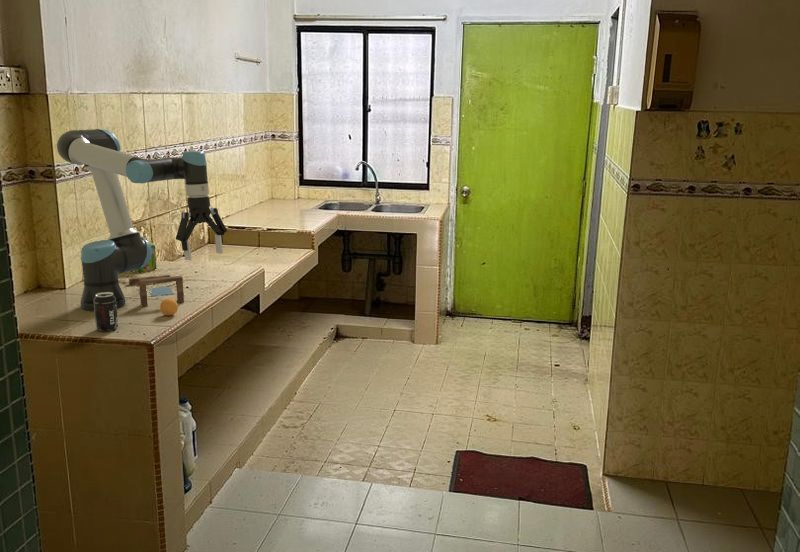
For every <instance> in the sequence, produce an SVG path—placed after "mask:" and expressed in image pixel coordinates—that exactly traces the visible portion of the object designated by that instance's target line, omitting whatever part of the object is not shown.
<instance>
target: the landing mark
mask: <svg viewBox="0 0 800 552" xmlns="http://www.w3.org/2000/svg"><path fill="white" fill-rule="evenodd" d="M151 288H152V289H150V288H149V287H148V289H150V290H152V291H151V292H152V293H150V292H149V293H150V295H151V297H158V296H157V295H161V296H169V295H168V294H171V295H174V294H175V293H174V292H173V290H172V289H171V287H170V286H164V287H163V286H162V287H151ZM150 290H149V291H150ZM137 291H139V292H138V293H139V294H140V288H139V289H137Z"/></svg>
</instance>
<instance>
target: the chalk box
mask: <svg viewBox="0 0 800 552" xmlns="http://www.w3.org/2000/svg"><path fill="white" fill-rule="evenodd" d="M141 237H142V238H144V237H143V236H141ZM149 244H150V246H151V251H152V255H151V259H150V261H149V263H148V264H147V265H146V266H145V267H142V268H140V269H137V270H132V271H131V272H133V271H135V272H134V273H138V272H139V273H140V274H141V272H143V273H147V272H146V271H148V272H151V271H150V270H153V271H156V270H155V269H157V254H156V245H155V244H151V243H149Z"/></svg>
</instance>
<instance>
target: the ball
mask: <svg viewBox="0 0 800 552" xmlns="http://www.w3.org/2000/svg"><path fill="white" fill-rule="evenodd" d="M178 304H179V303H178V301H177V300H175V299H173V298H165V299H163V300H162V301H161V302H160V305H159V307H160V308H159V309H160V312H161V313H162V315H165V316H173V315H175V314H176V313H177V312H178V309H179V306H178Z"/></svg>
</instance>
